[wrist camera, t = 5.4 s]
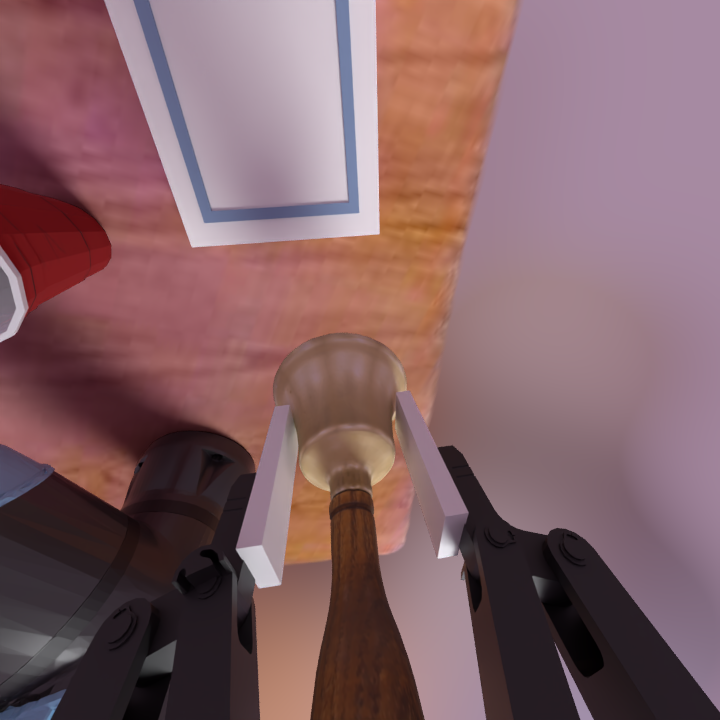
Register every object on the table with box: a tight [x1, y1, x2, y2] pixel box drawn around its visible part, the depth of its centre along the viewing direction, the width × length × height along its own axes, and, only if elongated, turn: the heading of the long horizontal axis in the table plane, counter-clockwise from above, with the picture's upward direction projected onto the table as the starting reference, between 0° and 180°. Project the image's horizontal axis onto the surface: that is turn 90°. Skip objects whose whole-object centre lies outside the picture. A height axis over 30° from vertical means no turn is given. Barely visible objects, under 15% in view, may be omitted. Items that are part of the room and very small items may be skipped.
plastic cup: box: [0, 184, 111, 342], centre depth 18 cm, size 11×11×12 cm
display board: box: [104, 0, 379, 247], centre depth 19 cm, size 16×16×3 cm
